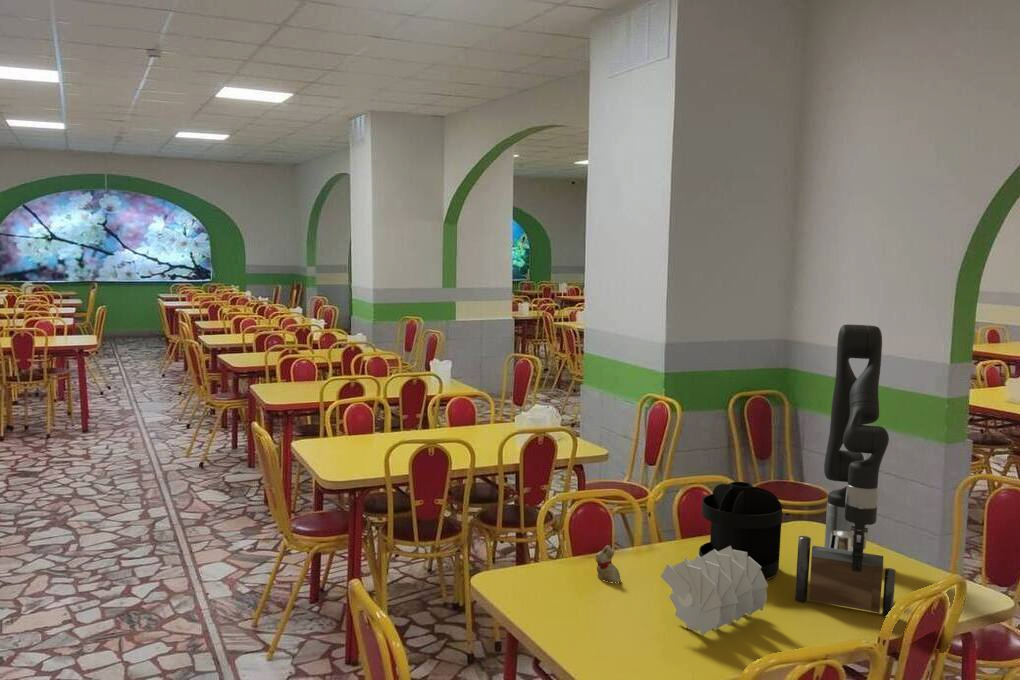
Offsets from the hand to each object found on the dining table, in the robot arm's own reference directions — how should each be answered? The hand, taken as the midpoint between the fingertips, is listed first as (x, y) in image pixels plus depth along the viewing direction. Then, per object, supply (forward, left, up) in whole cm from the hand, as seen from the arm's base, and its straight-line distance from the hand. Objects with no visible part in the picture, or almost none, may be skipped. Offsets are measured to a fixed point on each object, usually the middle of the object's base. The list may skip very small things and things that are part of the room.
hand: (856, 566), depth 218 cm
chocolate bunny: (+9, -63, -12) cm, 65 cm away
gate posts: (0, -3, -11) cm, 12 cm away
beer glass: (-15, -4, -12) cm, 19 cm away
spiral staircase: (+24, -31, -12) cm, 41 cm away
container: (-16, -32, -12) cm, 38 cm away
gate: (0, -2, -11) cm, 11 cm away
